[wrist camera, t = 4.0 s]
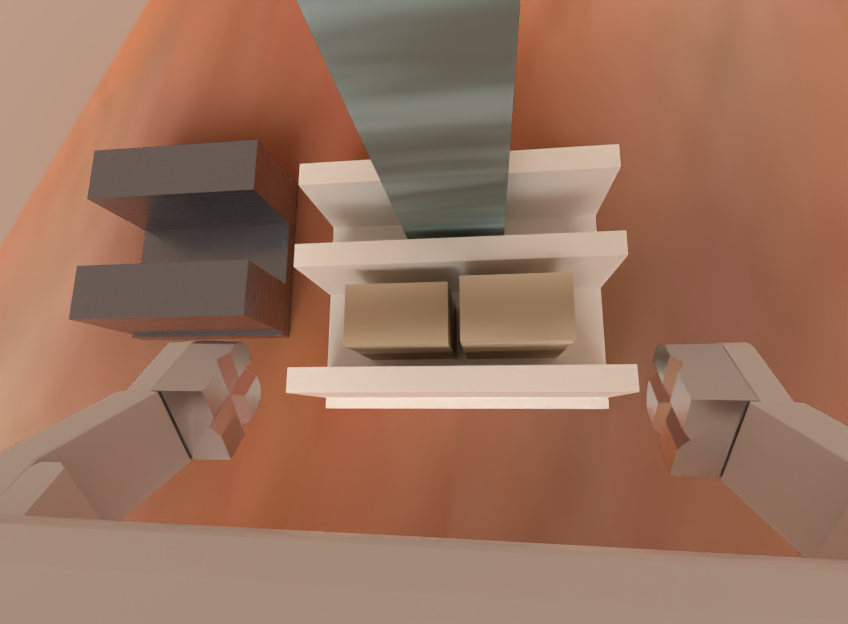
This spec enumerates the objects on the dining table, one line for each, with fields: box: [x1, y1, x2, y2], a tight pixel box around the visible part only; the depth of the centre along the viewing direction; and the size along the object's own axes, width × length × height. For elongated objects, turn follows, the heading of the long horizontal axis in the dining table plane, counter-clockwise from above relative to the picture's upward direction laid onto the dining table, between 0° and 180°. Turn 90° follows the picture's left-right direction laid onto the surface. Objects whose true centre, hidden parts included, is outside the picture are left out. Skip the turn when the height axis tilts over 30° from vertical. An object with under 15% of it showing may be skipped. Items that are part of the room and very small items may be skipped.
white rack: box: [286, 144, 639, 409], centre depth 27 cm, size 13×16×7 cm
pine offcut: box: [459, 272, 576, 359], centre depth 26 cm, size 3×5×7 cm, turn 90°
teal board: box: [297, 0, 520, 239], centre depth 21 cm, size 2×5×20 cm, turn 90°
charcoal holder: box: [69, 140, 298, 340], centre depth 31 cm, size 10×10×6 cm
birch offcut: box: [343, 282, 457, 360], centre depth 27 cm, size 3×5×6 cm, turn 90°
